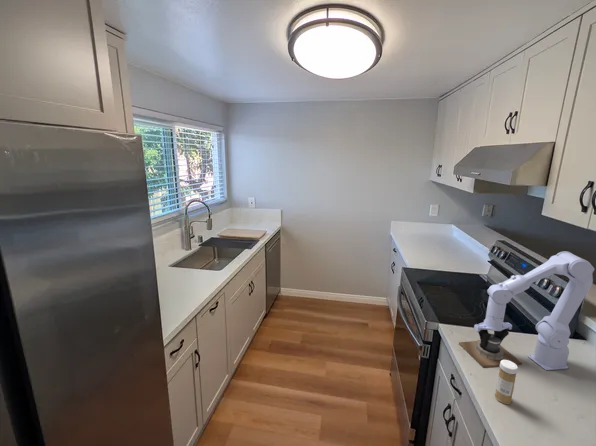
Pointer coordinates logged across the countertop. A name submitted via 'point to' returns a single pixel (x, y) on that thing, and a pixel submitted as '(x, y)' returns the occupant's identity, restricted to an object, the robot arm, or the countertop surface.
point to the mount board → (484, 360)
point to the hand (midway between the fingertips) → (490, 345)
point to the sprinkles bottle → (506, 381)
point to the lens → (492, 344)
